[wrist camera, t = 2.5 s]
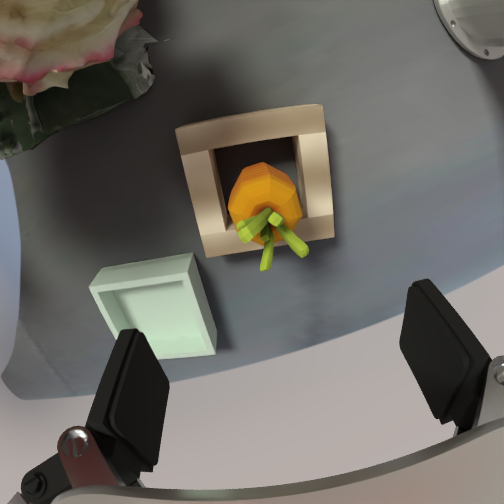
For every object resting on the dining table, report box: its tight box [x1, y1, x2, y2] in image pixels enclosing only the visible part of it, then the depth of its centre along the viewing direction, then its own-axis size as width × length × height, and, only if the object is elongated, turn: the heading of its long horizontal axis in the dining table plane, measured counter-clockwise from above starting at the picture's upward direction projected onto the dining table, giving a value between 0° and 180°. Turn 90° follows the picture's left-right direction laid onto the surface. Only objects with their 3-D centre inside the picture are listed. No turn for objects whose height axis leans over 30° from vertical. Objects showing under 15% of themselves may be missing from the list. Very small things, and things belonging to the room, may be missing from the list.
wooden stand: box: [175, 104, 334, 258], centre depth 27 cm, size 12×12×4 cm
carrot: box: [228, 162, 309, 271], centre depth 23 cm, size 5×5×15 cm
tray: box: [89, 252, 217, 359], centre depth 34 cm, size 12×12×4 cm
